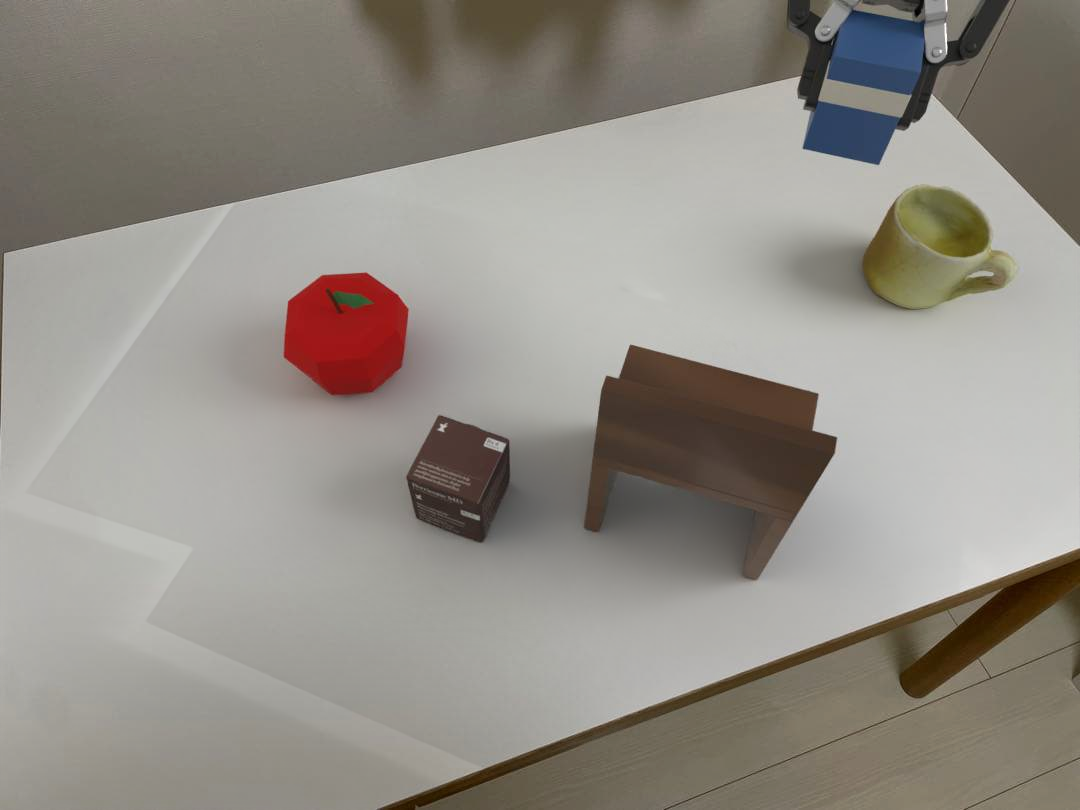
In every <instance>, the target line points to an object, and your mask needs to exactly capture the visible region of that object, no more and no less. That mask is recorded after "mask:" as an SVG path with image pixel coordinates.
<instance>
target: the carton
mask: <svg viewBox="0 0 1080 810" xmlns="http://www.w3.org/2000/svg"><path fill="white" fill-rule="evenodd" d="M924 42H925V38H924V35H923V29H922V26H920V23H919V22H916V21H913V20H909V19H904V18H899V17H894V16H889V15H884V14H879V13H873V12H868V11H862V10H856V9H854V10H853V11H852V12H851V13H850V14H849V16H848V17H847V18H846V20H845V21H844V22H843V23H842V24H841V26H840V28H839V30H838V31H837V33H836V35H835V37H834V38H833V40H832V44H831V45H833V46H834V49H833V52H832V56H831V59H830V61H829V64H828V67H827V71H826V74H825V77H824V81H823V84H822V88H821V91H820V95H819V99H818V104H817V107H816V109H815V110H814V112H812V111H809V115H808V121H807V124H806V125H807V126H806V131H805V135H804V139H803V144H802V150H806V151H811V152H815V153H820V154H824V155H829V156H834V157H837V158H838V157H839V158H843V159H848V160H852V161H857V162H862V163H867V164H871V165H876V166H880V165H881V162H882V160H883V157H884V155H885V153H886V152H887V148H888V147H889V144H890V142H891V140H892V138H893V135H894V133H895V131H896V130H897V129H896V126H897V124H898V122H899V120H900V118H901V117H902V116H903V113H904V111H905V109H906V107H907V104H908V102H909V100H910V98H911V93H912V91H913V89H914V87H915V84H916V82H917V80H918V78H919V75H920V73H921V67H922V58H923V50H924Z"/></svg>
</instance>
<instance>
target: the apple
mask: <svg viewBox="0 0 1080 810" xmlns="http://www.w3.org/2000/svg"><path fill="white" fill-rule="evenodd" d="M409 313H410V312H409V308H408V307H407V305H406V303H404V301H403V300H402V298H401V297H400V296H399V294H398V293H397V292H395V291H394V290H392V289H390V288H389V287H388V286H386V285H385V284H383V283H382V282H381V281H380V280H378V279H377V278H375V277H374V276H373V275H371V274H369V273H368V272H366V271H365V272H353V273H349V272H348V273H334V274H322V275H320V276H319V277H317V278H316V279H315V280H314V281H312V282H311V283H310V284H309V285H307V286H306V287H305V288H303V289H302V290H301V291H299V292H298V293H296V294H295V295H294V296H292V298H289V300H287V309H286V319H285V327H284V328H285V329H284V339H283V342H284V343H283V359H285V360H286V361H288V362H289V363H290V364H292V366H294V367H295V368H297V369H298V370H299V371H301V372H302V373H303V374H304V375H305V376H307V377H308V378H309V379H310V380H312V381H313V382H314V383H316V384H317V385H318V386H319V387H321V388H322V389H323V390H324V391H325V392H327V393H328V394H329V395H330V396H338V395H354V394H355V395H357V394H369V393H374V392H375V391H376V390H377V389H378V388H380V387H381V386H382V385H383V384H384V383H385V382H386V381H388V380H389V379H390V378H391V377H392V376H393V375H394V374H396V373H397V372H398V371H399V370H400V369H401V368H402V367H403V361H404V355H405V350H406V349H405V348H406V339H407V329H408V320H409Z"/></svg>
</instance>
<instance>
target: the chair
mask: <svg viewBox="0 0 1080 810" xmlns="http://www.w3.org/2000/svg"><path fill="white" fill-rule="evenodd" d="M819 396H820V394H819V392H816V391H815V392H814V391H811V390H807V389H803V388H799V387H795V386H791V385H787V384H785V383H784V384H783V383H780V382H776V381H772V380H768V379H764V378H762V377H757V376H753V375H749V374H745V373H741V372H739V371H734V370H730V369H727V368H723V367H718V366H716V365H711V364H708V363H707V364H706V363H703V362H699V361H696V360H692V359H689V358H685V357H680V356H676V355H672V354H668V353H665V352H661V351H657V350H654V349H649V348H646V347H642V346H639V345H634V344H629V346H628V349H627V352H626V355H625V358H624V361H623V363H622V366H621V370H620V373H619V376H618V377H614V376H611V375H605V378H604V381H603V384H602V386H601V388H600V397H599V404H598V413H597V419H596V427H595V437H594V443H593V452H592V460H591V468H590V477H589V484H588V492H587V501H586V509H585V516H584V524H583V529H584V530H587V531H590V532H594V533H599V532H600V528H601V525H602V521H603V518H604V516H605V512H606V509H607V506H608V504H609V503H608V502H609V500H610V496H611V493H612V490H613V486H614V483H615V481H616V477H617V474H618V472H621V473H624V474H627V475H630V476H633V477H634V476H635V477H638V478H641V479H645V480H648V481H653V482H655V483H658V484H662V485H665V486H669V487H673V488H677V489H680V490H682V491H683V490H684V491H686V492H690V493H694V494H697V495H699V496H700V495H701V496H703V497H708V498H711V499H715V500H718V501H722V502H725V503H728V504H732V505H736V506H738V507H743V508H746V509H748V510H749V509H750V510H754V516H753V520H752V525H751V530H750V535H749V540H748V544H747V550H746V555H745V558H744V559H745V560H744V563H743V565H744V566H743V569H742V573H741V576H742V577H744V578H747V579H749V580H753V581H758V580H759V578H760V577H761V575H762V573H763V572H764V570H765V568H766V567H767V565H768V564H769V562H770V560H771V558H772V557H773V555H774V553H775V552H776V550H777V549H778V547H779V546H780V544H781V542H782V541H783V539H784V537H785V535H786V534H787V532H788V531H789V529H790V527H791V526H792V524H793V522H794V521H795V519H796V518H797V516H798V514H799V513H800V511H801V510H802V508H803V506H804V504H805V503H806V501H807V500H808V498H809V497H810V495H811V493H812V492H813V490H814V488H815V487H816V485H817V483H818V482H819V480H820V479H821V477H822V475H823V474H824V472H825V470H826V468H827V467H828V466H829V464H830V462H831V460H832V459H833V458H834V456H835V454H836V448H837V444H838V443H837V442H838V436H835V435H831V434H827V433H824V432H820V431H817V430H814V425H815V419H816V413H817V408H818V401H819Z"/></svg>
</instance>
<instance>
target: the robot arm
mask: <svg viewBox="0 0 1080 810" xmlns="http://www.w3.org/2000/svg"><path fill="white" fill-rule="evenodd" d="M1010 1H1011V0H979V1H978V3H977V5H976V6H975V9H973V12H972V14H971V15H970V17H969V18H968V21H967V22H966V24H965V26H964V27H963V30H962V31H961V33H960V35H959V36H958V37H957V39H955V40H950V41H949V40H948V37H947V19H948V0H834V1H833V2H832V4H831V5H830V6H829V8H828V10H827V11H826V12H825V13H824V15H823V17H821V16H819V15H818V14H816V13H814V12H813V11H811V10H810V9H811V0H787V4H786V5H787V7H786V23H785V26H786V30H787V31H788V32H789V33H790V34H793V35H797V36H799V37H800V38H802V39H803V40H804V41H805V42H806V44H807V54H806V57H805V60H804V64H803V68H802V71H801V74H800V75H801V76H800V78H799V82H798V85H797V89H796V90H797V91H796V94H797V99H799V100H804V104H803V106H802V110H803V111H809V112H811V111H812V112H814V110H815V109H816V107H817V104H818V99H819V95H820V91H821V88H822V84H823V81H824V77H825V74H826V71H827V67H828V64H829V61H830V59H831V56H832V52H833V49H834V46H833V45H831V44H832V41H833V38H834V37H835V35H836V33H837V31H838V30H839V28H840V26H841V24H842V23H843V22H844V21H845V20H846V18H847V17H848V16H849V14H850V13H851V12H852V11H853V10H856V8H857V7H858V5H859V4H860V2H861V4H863V5H868V6H873V7H874V6H890V7H892V8H894V9H896V10H898V11H900V12H905V13H911V16H912V21H916V22H919V23H920V26H922V29H923V35H924V38H925V42H924V50H923V58H922V67H921V73H920V75H919V78H918V80H917V82H916V84H915V87H914V89H913V91H912V93H911V98H910V100H909V102H908V104H907V107H906V109H905V111H904V113H903V116H902V117H901V118H900V120H899V122H898V124H897V126H896V129H895V130H897V131H902V132H905V131H906V130H908V129H909V128H910V126H911V124H916V123H917V122H919V121H920V120H921V119H922V118H923V117H924V115H925V114H926V112H927V109H928V106H929V103H930V101H931V96H932V95H933V91H934V88H935V85H936V81H937V78H938V75H939V73H940V70H942V68H945V67H951V66H956V67H962V66H964V65H966V64H967V63H968V62H970V60H973V59H974V58H975V57H977V56H978V55H979V54H980V53H981V51H982V49H983V48H984V46H985V44H986V42H987V40H988V39H989V37H990V35H991V33H992V32H993V31H994V28H995V27H996V25H997V23H998V21H999V20H1000V18H1001V16H1002V14H1003V13H1004V11H1005V9H1006V7H1008V4H1009V3H1010ZM947 40H948V41H947Z"/></svg>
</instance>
